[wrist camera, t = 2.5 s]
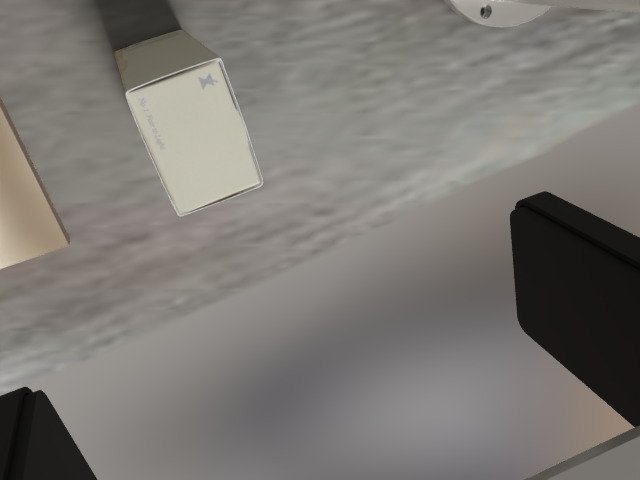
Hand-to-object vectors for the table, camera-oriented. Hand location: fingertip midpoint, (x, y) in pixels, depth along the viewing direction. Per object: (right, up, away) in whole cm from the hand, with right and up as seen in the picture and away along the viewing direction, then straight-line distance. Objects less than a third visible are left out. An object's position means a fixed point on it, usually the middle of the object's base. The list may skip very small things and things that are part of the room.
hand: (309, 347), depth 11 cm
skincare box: (-9, +11, +25) cm, 29 cm away
